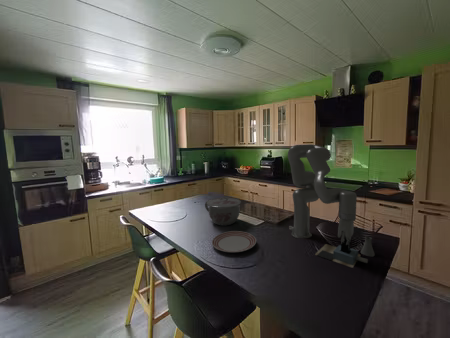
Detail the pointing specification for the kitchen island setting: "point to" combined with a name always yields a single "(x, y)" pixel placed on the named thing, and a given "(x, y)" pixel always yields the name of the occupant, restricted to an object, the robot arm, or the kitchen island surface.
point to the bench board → (330, 249)
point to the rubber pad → (326, 255)
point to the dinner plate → (234, 241)
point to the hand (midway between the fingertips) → (345, 249)
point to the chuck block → (347, 256)
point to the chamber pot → (223, 210)
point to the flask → (367, 247)
